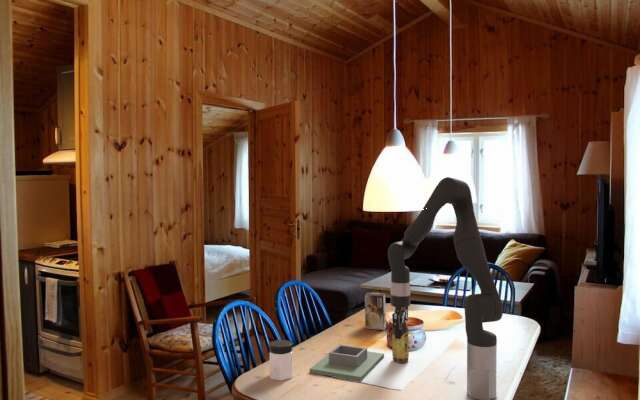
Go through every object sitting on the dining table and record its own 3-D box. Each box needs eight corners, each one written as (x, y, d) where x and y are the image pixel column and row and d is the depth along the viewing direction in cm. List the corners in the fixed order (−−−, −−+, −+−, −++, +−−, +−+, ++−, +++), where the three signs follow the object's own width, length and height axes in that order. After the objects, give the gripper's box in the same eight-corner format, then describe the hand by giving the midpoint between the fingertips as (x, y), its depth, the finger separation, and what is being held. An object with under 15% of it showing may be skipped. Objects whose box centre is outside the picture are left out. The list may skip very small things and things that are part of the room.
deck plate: (361, 381, 186) (361, 365, 185) (309, 372, 194) (309, 357, 194) (384, 357, 209) (383, 343, 209) (337, 350, 217) (337, 337, 217)
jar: (264, 377, 190) (263, 344, 189) (277, 370, 197) (276, 338, 196) (285, 382, 185) (284, 348, 185) (297, 374, 192) (297, 342, 192)
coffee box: (386, 326, 251) (386, 292, 250) (384, 330, 245) (384, 295, 244) (367, 325, 254) (367, 291, 253) (364, 328, 248) (364, 294, 247)
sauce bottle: (408, 364, 201) (408, 312, 200) (391, 363, 203) (391, 312, 202) (409, 358, 208) (408, 308, 207) (393, 357, 209) (392, 307, 208)
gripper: (404, 298, 196) (404, 343, 197) (414, 290, 209) (414, 332, 210) (385, 296, 199) (385, 340, 200) (396, 288, 212) (396, 329, 213)
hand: (400, 336), depth 205 cm, fingers closed on sauce bottle, 6 cm apart
